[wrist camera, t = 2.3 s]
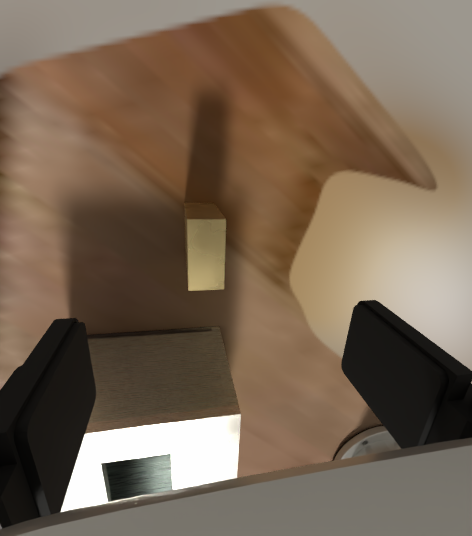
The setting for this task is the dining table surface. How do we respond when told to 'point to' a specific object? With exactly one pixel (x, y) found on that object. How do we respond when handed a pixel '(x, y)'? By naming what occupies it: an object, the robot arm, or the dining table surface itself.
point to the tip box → (156, 416)
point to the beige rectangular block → (204, 246)
